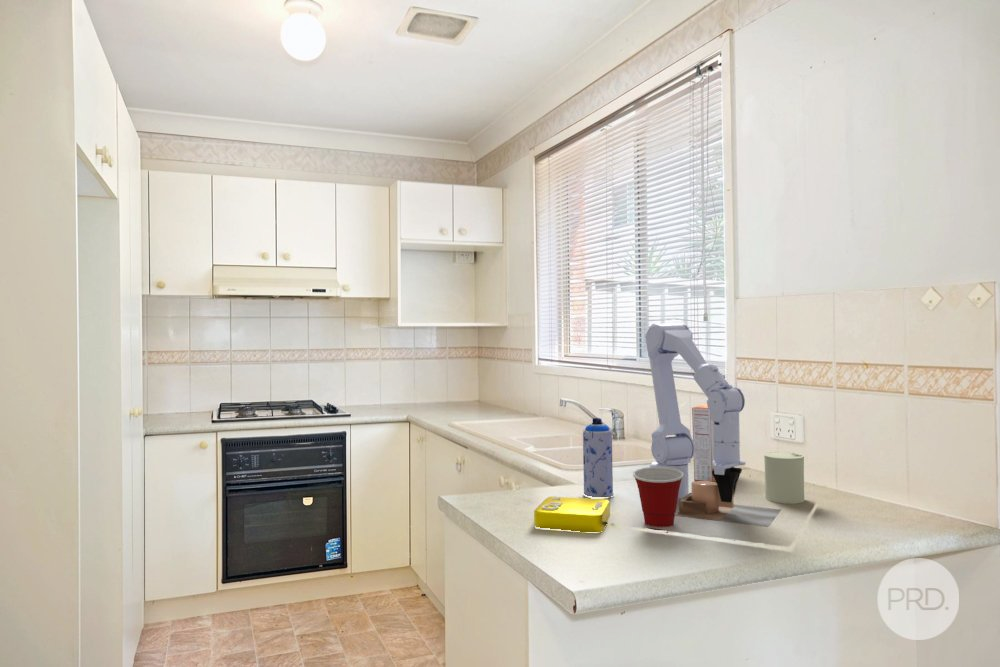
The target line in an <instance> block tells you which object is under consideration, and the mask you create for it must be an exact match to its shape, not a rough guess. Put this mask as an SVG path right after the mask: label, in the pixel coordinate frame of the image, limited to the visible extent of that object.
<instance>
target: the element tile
mask: <svg viewBox="0 0 1000 667" xmlns="http://www.w3.org/2000/svg"><path fill="white" fill-rule="evenodd" d="M610 503H611V502H610V500H608V499H591V498H586V497H572V496H571V497H568V496H548V497H547V498H545V499H544V500H543V501H542V502H541V503H540V504H539V505H538V506H537V507H536V508H535V509H534V510H533V514H534V515H533V520H534V525H535V526H536V527H540V528H550V529H561V530H571V531H580V532H601V531H603V530H604V531H605V529H606V527H607V525H606V524H608V523H607V522H608V520H609V518H610V516H611V504H610ZM534 525H533V526H534ZM605 526H606V527H605ZM604 528H605V529H604ZM604 531H603V532H604Z"/></svg>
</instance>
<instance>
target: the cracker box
mask: <svg viewBox="0 0 1000 667" xmlns="http://www.w3.org/2000/svg"><path fill="white" fill-rule="evenodd" d="M691 415H692V416H691V417H692V418H691V420H692V439H693V441H694V444H695V454H694V456H693V479H694V482H695V481H710V482H715V483H716V480H715V478H714V477H713V475H712V470H713V469H714V464H713V459H714V453H713V421H712V419H711V413H710V411H709V409H708V406H707V402H706V403H703V404H700V405H697V406H693V407H691Z"/></svg>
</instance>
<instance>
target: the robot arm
mask: <svg viewBox="0 0 1000 667" xmlns="http://www.w3.org/2000/svg"><path fill="white" fill-rule="evenodd" d="M693 334H694V333H693V332H692V330H690V327H689V326H688V324H686V323H682V322H681V323H652V324H651V325H650V326H649V327H648V329H647V331H646V333H645V335H644V337H645V343H646V350H647V356H648V358H649V365H650V371H651V378H652V385H653V392H654V397H655V405H656V411H657V417H658V423H659V425H658V426H657V427H656V429H655V430H654V431H653V432H652V433H651V439H652V440H651V447H650V450H651V454H652V457H653V458H654V460H655V461H652V462H651V463H650V465H649V467H666V468H673V469H677V470H680V471H681V472H683V474H684V476H683V478H682V480H681V484H680V488H679V493H678V499H679V500H680V499H682V498H684V497H685V496H686V495H688V494H689V493H690V491H689V490H690V489H689V463H691V461H692V459H694V454H695V444H694V441H693V436H692V435H691V430H690V428H688V427H687V426H685V425H684V424H683V423H682V421H681V415H680V408H679V402H678V397H677V396H678V395H677V391H676V383H675V376H674V373H673V372H674V371H673V365H672V363H673V360H674V359H675V358H677V357H678V356H681V358H682V359H683V360H684V362H685V363H686V364H687V365H688V366H689V368H691V369H692V371H693V372H694V375H693V380H694V382H696V384H697V385H698V386H699V388H700V390H701V391H702V392H703V394H704V395H705V396H706V397H707V400H706V403H707V406H708V409H709V411H710V413H711V419H712V421H713V453H714V459H713V464H714V469H713V470H712V475H713V477H714V478H715V480H716V481H715V483H717V486H718V490H719V494H720V498H721V501H722V502H731V501H732V497H733V489H734V496H735V494H736V488H737V482H738V480H739V477H740V475H741V474H742V470H743V469H742V468H741V467H740V466H745V465H746V461H745V460H741V450H740V447H741V445H740V443H741V442H740V437H741V436H740V413H741V412H742V411H743V410H744V408H745V403H746V401H745V396H744V394H743V392H742V390H741V388H739V387H736V386H733V385H732V384H729V382H728V381H727V380H726V378H725V377H724V376H723V375H722V373H721V372H720V370H719V368H718V367H717V365H715V364H711V363H708V362H707V361H706V360H705V358H704V357H703V355H702V353H701V352H700V350H699V349H698V347H697V345H696V344H695V342H694V341H693V337H694V336H693ZM738 466H739V467H738Z"/></svg>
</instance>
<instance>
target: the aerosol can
mask: <svg viewBox="0 0 1000 667" xmlns="http://www.w3.org/2000/svg"><path fill="white" fill-rule="evenodd" d="M582 447H583V448H582V450H583V451H582V453H583V455H582V457H583V459H582V460H583V493H584V494H585V495H587V496H592V497H611V496H613V495H614V484H613V483H614V481H613V480H614V478H613V477H614V476H613V475H614V474H613V433H612V429H611V428H610V427H609V426H608V425H606V424H605V423H604V422H602V418H600V417H594V418H592V422H590V423H589V424H587V425H586V427H585V428H584V429H583V431H582Z"/></svg>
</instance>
